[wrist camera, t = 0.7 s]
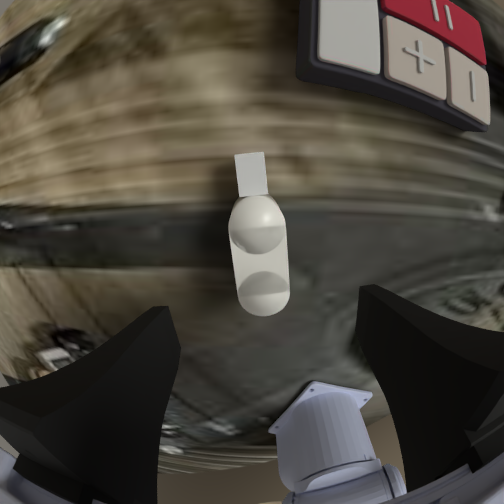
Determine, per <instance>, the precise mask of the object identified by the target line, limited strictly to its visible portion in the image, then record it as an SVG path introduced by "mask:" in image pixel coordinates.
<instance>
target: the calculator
mask: <svg viewBox="0 0 504 504" xmlns="http://www.w3.org/2000/svg"><path fill="white" fill-rule="evenodd" d="M485 65H486V56H485V50H484V44H483V39H482V34H481V29H480V25H479V22H478V21H477V20H476V19H474V18H473V17H472V16H470V15H469V14H468V13H466V12H465V11H464V10H462V9H461V8H459V7H458V6H456V5H455V4H453V3H452V2H450V1H449V0H300V6H299V26H298V44H297V59H296V77H297V78H298V79H299V80H301V81H305V82H311V83H316V84H322V85H327V86H332V87H337V88H341V89H346V90H350V91H354V92H360V93H366V94H369V95H373V96H376V97H379V98H383V99H386V100H389V101H392V102H395V103H398V104H400V105H403V106H406V107H409V108H411V109H414V110H417V111H419V112H422V113H424V114H427V115H429V116H432V117H434V118H437V119H439V120H441V121H444V122H446V123H448V124H451V125H453V126H455V127H457V128H459V129H461V130H464V131H473V132H487V131H488V125H489V124H490V96H489V82H488V74H487V72H486V70H485Z"/></svg>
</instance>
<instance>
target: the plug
mask: <svg viewBox="0 0 504 504" xmlns="http://www.w3.org/2000/svg"><path fill="white" fill-rule="evenodd" d="M235 164H236V172H237V181H238V189H239V198H238V199H237V200H236V201H235V203H234V206H233V209H232V213H231V216H230V220H229V226H228V229H229V237H230V244H231V252H232V259H233V266H234V273H235V280H236V286H237V293H238V299H239V302H240V304H241V306H242V307H243V308H244V309H245V310H246V311H247V312H249V313H251V314H253V315H257V316H269V315H273V314H275V313H277V312H279V311H280V310H282V309H283V308H284V307H285V305H286V304H287V302H288V300H289V296H290V288H289V270H288V253H287V238H286V224H285V219H284V217H283V214H282V212H281V211H280V209H279V207H278V205H277V203H276V201H275V200H274V199H273V197H272V196H270V195H269V194H268V189H267V179H266V169H265V159H264V152H256V153H246V154H237V155H235Z"/></svg>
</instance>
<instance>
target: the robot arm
mask: <svg viewBox="0 0 504 504" xmlns="http://www.w3.org/2000/svg"><path fill="white" fill-rule="evenodd" d="M355 331H356V334H357V337H358V340H359V343H360V346H361V348H362V351H363V353H364V355H365V357H366V359H367V361H368V363H369V365H370V367H371V369H372V371H373V373H374V375H375V377H376V379H377V381H378V383H379V385H380V387H381V389H382V391H383V393H384V395H385V398H386V400H387V402H388V405H389V408H390V412H391V415H392V418H393V421H394V425H395V428H396V432H397V435H398V439H399V444H400V449H401V454H402V459H403V464H404V471H405V479H406V487H405V484H404V481H403V479H402V476H401V474H400V472H399V470H398V469H397V467H395V466H392V465H390V464H386V465H384V466H382V465H381V462H380V459H379V458H378V459H376V456H375V453H374V451H373V447H372V444H371V442H370V439H369V436H368V433H367V430H366V427H365V424H364V421H363V418H362V416H361V413H360V410H359V409H360V408H361V407H362V406H363V405H364V404H365V403H366V402H367V401H368V400H369V399H370V398H371V397H372V393H371V392H369V391H363V390H357V389H352V388H346V387H341V386H336V385H331V384H326V383H322V382H317V381H313V382H311V383H309V385H308V386H307V387H306V388H305V389H304V390H303V392H302V393H301V394H300V395H299V396H298V397H297V399H296V400H295V401H294V402H293V403H292V404H291V405H290V406H289V407H288V409H287V410H286V411H285V412H284V413H283V414H282V415H281V416H280V417H279V418H278V419H277V420H276V421H275V423H274V424H273V425H272V426H271V427H270V428H269V429H268V431H269V433H272V434H276V442H277V454H278V466H279V475H280V478H281V480H282V482H283V484H284V485H285V486H286V487H287V488H288V489H289V490H291V491H292V492H289V493H288V494H287V496H286V497H285V499H284V500H283V502H282V504H504V332H498V331H492V330H486V329H482V328H478V327H474V326H470V325H466V324H463V323H460V322H457V321H454V320H451V319H448V318H445V317H443V316H440V315H438V314H436V313H433V312H431V311H429V310H427V309H424V308H422V307H420V306H418V305H416V304H414V303H412V302H410V301H408V300H406V299H404V298H402V297H400V296H398V295H396V294H394V293H392V292H390V291H388V290H386V289H384V288H382V287H380V286H377V285H375V284H373V285H366V286H360V288H359V300H358V310H357V319H356V328H355ZM180 350H181V347H180V344H179V341H178V337H177V334H176V331H175V328H174V325H173V321H172V318H171V314H170V311H169V308H168V306H157V307H152V308H151V309H149V310H148V311H146V312H145V313H143V314H142V315H141V316H139V317H138V318H137V319H136V320H134V321H133V322H132V323H131V324H129V325H128V326H127V327H125V328H124V329H123V330H122V331H120V332H119V333H118V334H116V335H115V336H114V337H112V338H111V339H109V340H108V341H107V342H105V343H104V344H103V345H101V346H100V347H98V348H97V349H95V350H94V351H92V352H91V353H89V354H87V355H86V356H84V357H82V358H81V359H79V360H77V361H75V362H73V363H71V364H69V365H67V366H65V367H63V368H61V369H59V370H57V371H55V372H52V373H50V374H47V375H45V376H42V377H40V378H37V379H34V380H31V381H27V382H24V383H20V384H15V385H11V386H7V387H1V388H0V435H1V436H2V437H3V438H4V439H5V440H6V441H7V442H8V443H9V444H10V445H11V446H12V447H13V448H14V449H15V450H16V451H18V452H19V453H20V454H19V456H18V458H15V457H14V456H13V455H11V454H10V453H8V452H7V451H5V450H4V449H2V448H1V447H0V504H157V469H158V455H159V444H160V437H161V430H162V423H163V419H164V415H165V411H166V408H167V404H168V401H169V397H170V394H171V390H172V387H173V384H174V380H175V377H176V373H177V370H178V364H179V357H180ZM406 490H407V491H406Z"/></svg>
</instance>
